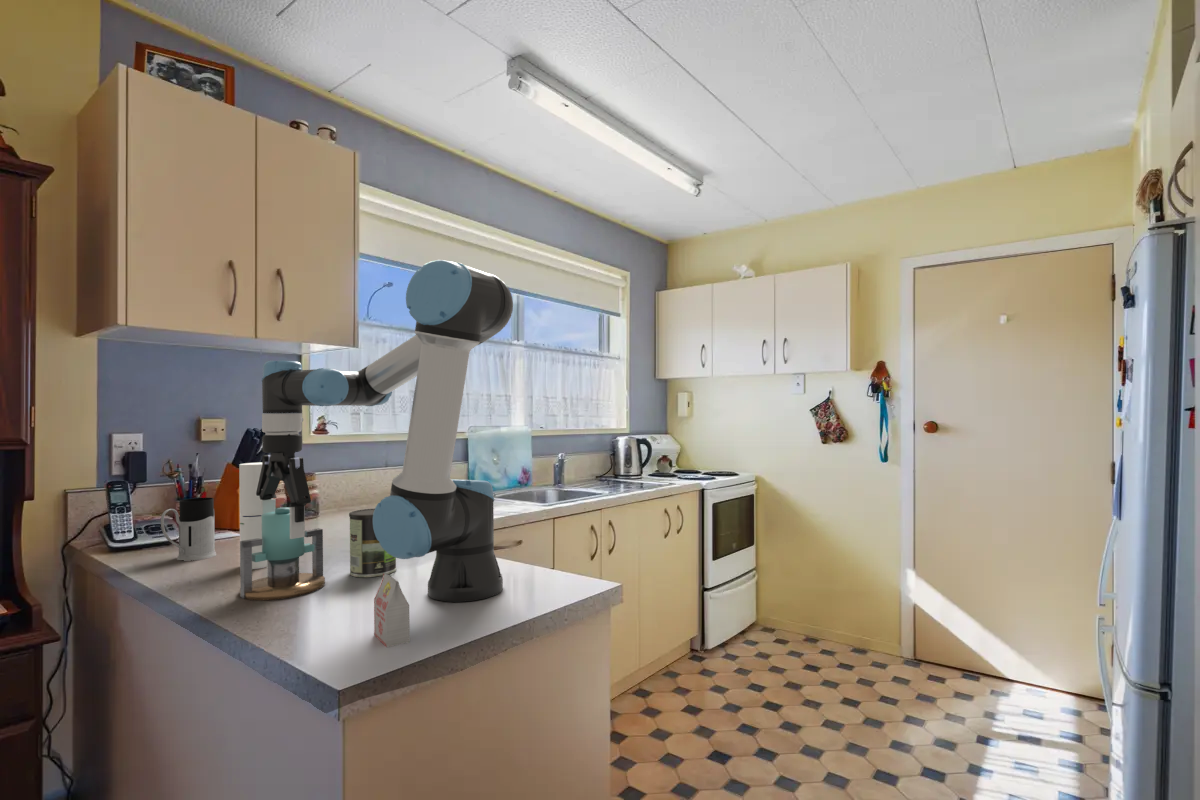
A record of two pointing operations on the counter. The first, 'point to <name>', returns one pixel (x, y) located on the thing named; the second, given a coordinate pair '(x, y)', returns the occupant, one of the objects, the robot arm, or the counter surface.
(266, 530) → the teal plastic cylinder
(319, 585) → the post fixture
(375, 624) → the milk carton
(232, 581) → the counter surface
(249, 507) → the cylindrical container
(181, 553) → the white and black mug
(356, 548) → the coffee can
